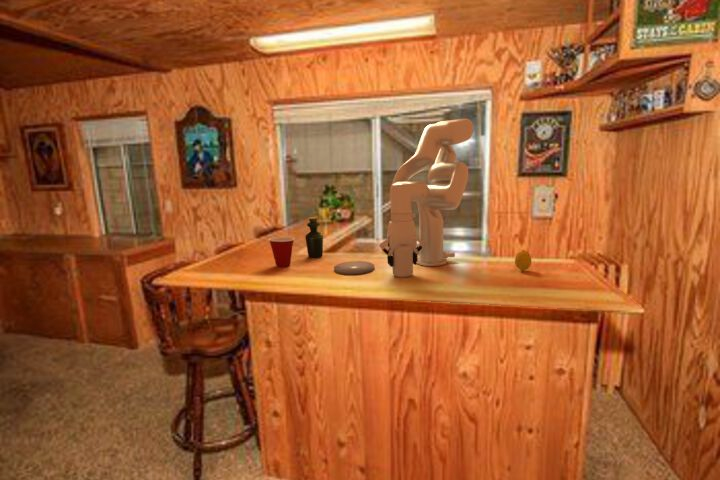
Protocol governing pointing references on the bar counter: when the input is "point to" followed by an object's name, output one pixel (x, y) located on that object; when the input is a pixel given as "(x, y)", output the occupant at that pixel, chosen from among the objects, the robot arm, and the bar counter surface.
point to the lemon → (523, 260)
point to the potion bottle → (314, 239)
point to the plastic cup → (282, 250)
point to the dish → (354, 268)
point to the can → (403, 261)
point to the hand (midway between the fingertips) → (402, 264)
